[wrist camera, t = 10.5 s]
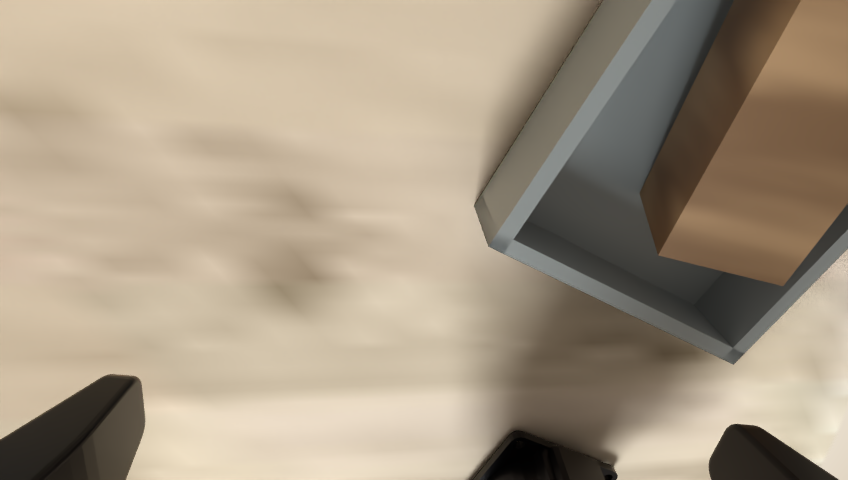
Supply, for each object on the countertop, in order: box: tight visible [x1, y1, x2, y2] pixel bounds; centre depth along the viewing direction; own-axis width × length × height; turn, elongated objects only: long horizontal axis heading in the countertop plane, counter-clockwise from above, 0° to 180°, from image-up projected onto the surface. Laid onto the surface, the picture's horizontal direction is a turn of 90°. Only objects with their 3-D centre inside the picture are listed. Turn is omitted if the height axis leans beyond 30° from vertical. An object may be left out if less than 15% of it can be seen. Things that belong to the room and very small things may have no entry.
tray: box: [474, 0, 848, 365], centre depth 17 cm, size 16×11×4 cm
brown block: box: [640, 0, 848, 286], centre depth 15 cm, size 4×4×12 cm
